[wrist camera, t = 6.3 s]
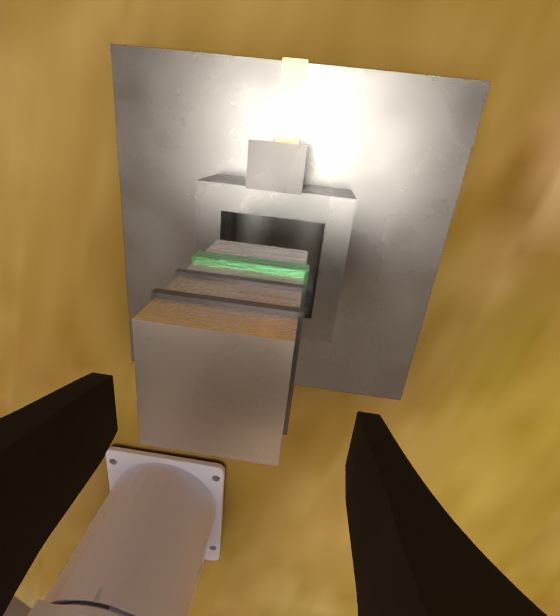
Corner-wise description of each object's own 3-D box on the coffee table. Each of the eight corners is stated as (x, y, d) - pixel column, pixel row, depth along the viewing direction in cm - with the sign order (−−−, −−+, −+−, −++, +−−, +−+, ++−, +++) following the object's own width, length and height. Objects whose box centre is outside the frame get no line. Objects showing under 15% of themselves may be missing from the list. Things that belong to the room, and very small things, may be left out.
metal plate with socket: (397, 389, 22) (414, 449, 17) (139, 351, 22) (97, 400, 18) (481, 82, 15) (540, 59, 11) (122, 46, 16) (51, 12, 12)
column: (299, 335, 14) (281, 470, 8) (212, 322, 14) (135, 447, 8) (311, 248, 12) (300, 337, 7) (215, 236, 13) (125, 313, 7)
